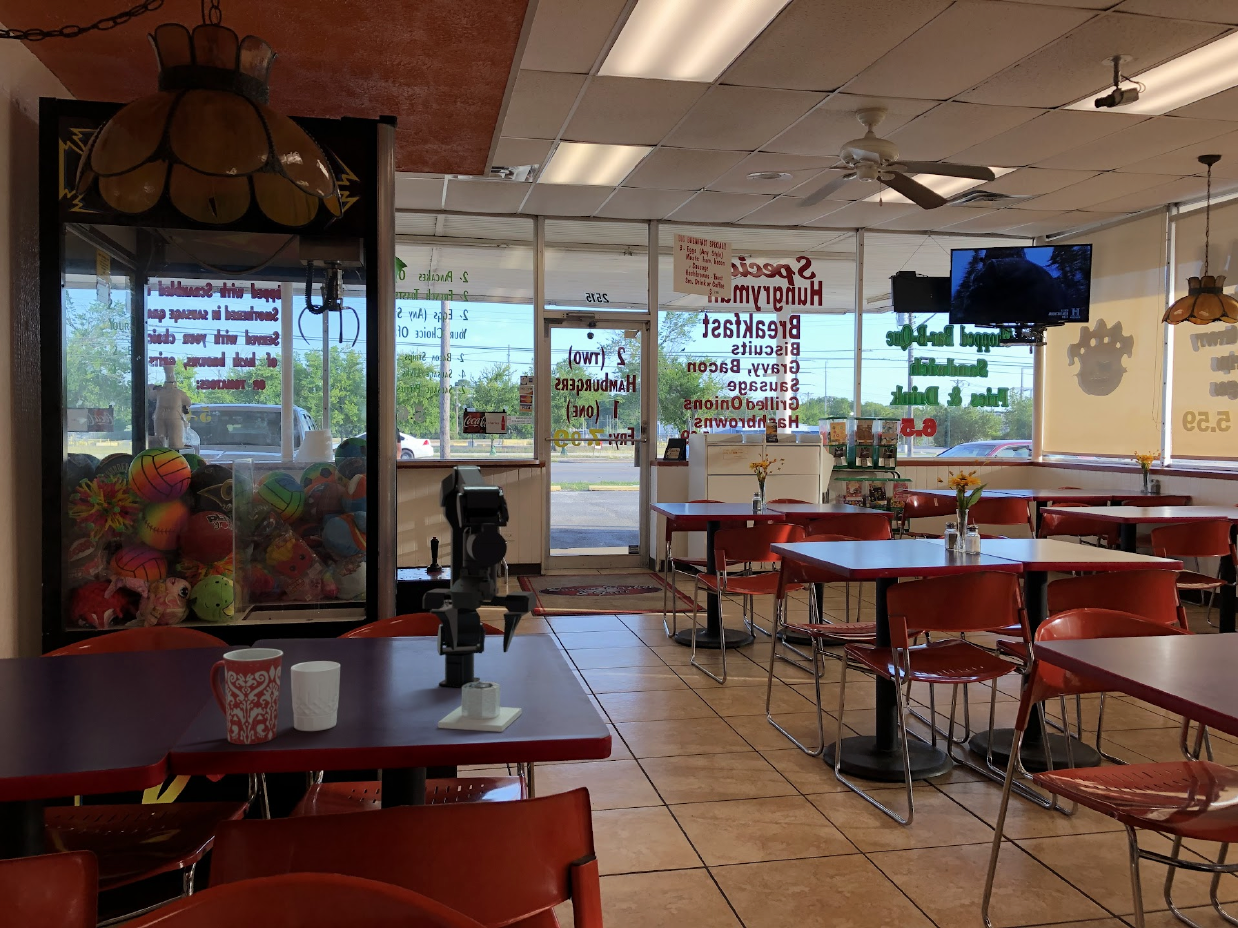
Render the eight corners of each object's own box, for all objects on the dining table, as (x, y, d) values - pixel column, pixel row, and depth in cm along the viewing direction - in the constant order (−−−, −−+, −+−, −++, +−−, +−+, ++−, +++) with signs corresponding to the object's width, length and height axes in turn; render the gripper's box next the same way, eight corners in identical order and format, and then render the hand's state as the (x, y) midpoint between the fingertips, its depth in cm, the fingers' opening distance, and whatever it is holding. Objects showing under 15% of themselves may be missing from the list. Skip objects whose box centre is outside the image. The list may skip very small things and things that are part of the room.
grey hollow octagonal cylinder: (470, 709, 164) (470, 680, 164) (503, 711, 163) (503, 682, 163) (457, 718, 158) (458, 688, 158) (492, 720, 157) (492, 690, 157)
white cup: (322, 716, 163) (322, 658, 163) (349, 724, 158) (349, 665, 158) (281, 726, 157) (281, 666, 157) (307, 735, 152) (308, 673, 152)
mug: (295, 733, 153) (295, 650, 153) (253, 749, 144) (253, 661, 144) (235, 724, 158) (236, 644, 158) (192, 739, 149) (192, 654, 149)
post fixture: (461, 710, 167) (461, 676, 167) (521, 713, 165) (521, 679, 165) (438, 727, 156) (438, 691, 156) (502, 731, 154) (502, 695, 154)
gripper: (409, 563, 155) (409, 658, 155) (518, 566, 151) (518, 663, 152) (435, 556, 166) (434, 645, 166) (537, 559, 162) (537, 649, 162)
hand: (479, 650), depth 161 cm, fingers open, 9 cm apart
